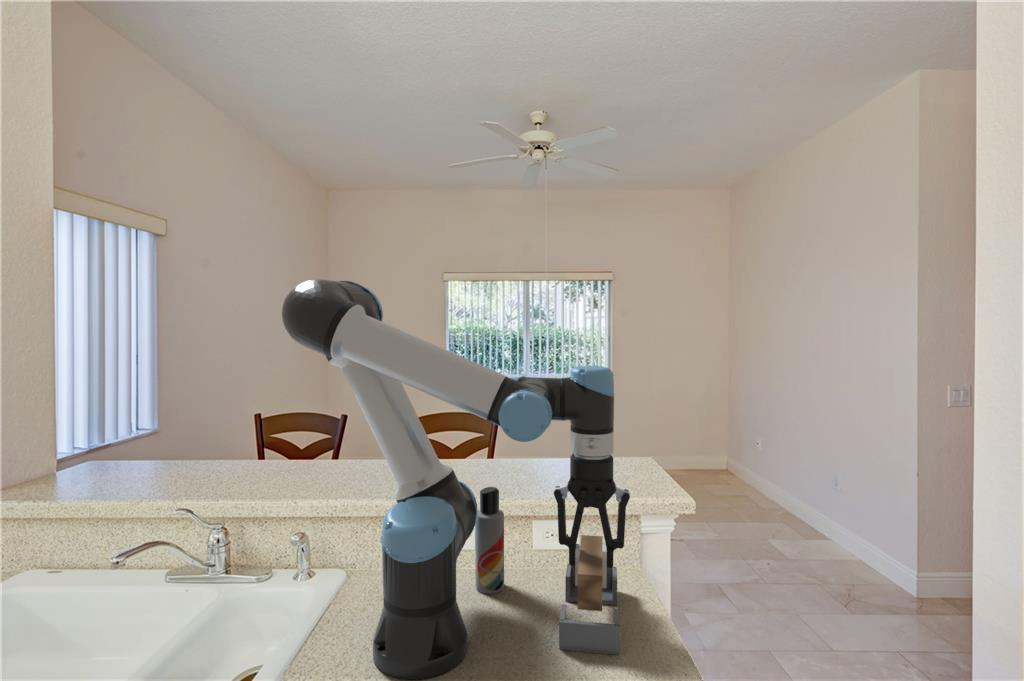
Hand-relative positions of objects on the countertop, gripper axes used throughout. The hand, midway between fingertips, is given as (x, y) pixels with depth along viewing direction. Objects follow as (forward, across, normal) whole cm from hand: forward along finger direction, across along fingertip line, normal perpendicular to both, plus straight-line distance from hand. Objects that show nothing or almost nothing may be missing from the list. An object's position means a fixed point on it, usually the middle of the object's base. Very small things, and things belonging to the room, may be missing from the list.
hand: (590, 583), depth 101 cm
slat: (+1, 0, 0) cm, 1 cm away
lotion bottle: (+7, -20, +8) cm, 23 cm away
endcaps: (+6, 0, 0) cm, 6 cm away
